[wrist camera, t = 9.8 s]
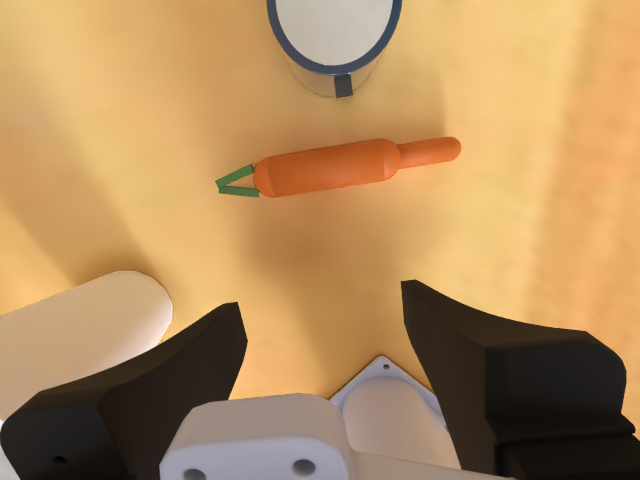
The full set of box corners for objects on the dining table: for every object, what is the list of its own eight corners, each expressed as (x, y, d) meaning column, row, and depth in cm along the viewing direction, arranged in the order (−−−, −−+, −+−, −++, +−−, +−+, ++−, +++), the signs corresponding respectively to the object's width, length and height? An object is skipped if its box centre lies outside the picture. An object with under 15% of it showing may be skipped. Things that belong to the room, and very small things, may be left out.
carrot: (229, 201, 22) (217, 209, 19) (220, 165, 21) (206, 168, 18) (454, 166, 20) (471, 169, 18) (453, 126, 20) (471, 124, 17)
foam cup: (146, 231, 22) (-78, 339, 10) (214, 327, 25) (100, 510, 12) (51, 282, 24) (-243, 430, 12) (124, 368, 26) (-57, 566, 14)
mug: (371, -33, 17) (395, -133, 11) (383, 102, 19) (409, 83, 13) (276, -13, 18) (247, -99, 11) (297, 117, 20) (283, 105, 14)
